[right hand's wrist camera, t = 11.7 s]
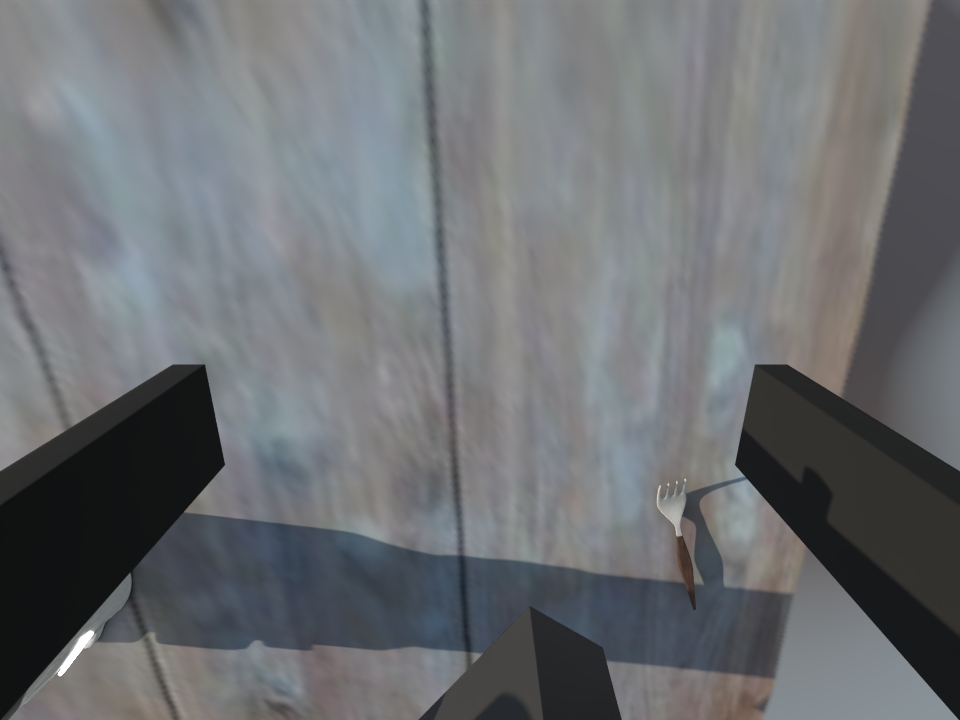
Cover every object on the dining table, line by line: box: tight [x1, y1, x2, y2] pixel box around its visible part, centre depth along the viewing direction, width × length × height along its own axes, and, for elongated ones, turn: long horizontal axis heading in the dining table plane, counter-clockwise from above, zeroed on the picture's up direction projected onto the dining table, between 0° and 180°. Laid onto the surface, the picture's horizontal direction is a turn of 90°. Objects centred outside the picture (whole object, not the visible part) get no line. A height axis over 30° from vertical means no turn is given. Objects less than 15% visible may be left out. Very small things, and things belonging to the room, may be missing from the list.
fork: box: [657, 479, 696, 610], centre depth 46 cm, size 3×16×2 cm, turn 17°
